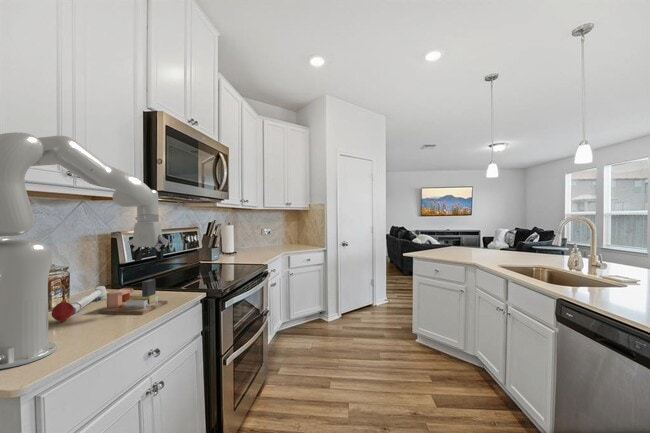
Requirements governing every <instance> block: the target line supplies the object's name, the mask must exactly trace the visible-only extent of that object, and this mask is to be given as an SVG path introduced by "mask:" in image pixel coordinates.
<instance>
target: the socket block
mask: <svg viewBox="0 0 650 433" xmlns="http://www.w3.org/2000/svg"><path fill="white" fill-rule="evenodd" d="M134 294H135V293H134V288H127V287H125V288H120V289H117V290H113V291H108V293H107V299H106V308H120V307H122V306H125V305H126V301H127V300H130V296H131V295H134Z"/></svg>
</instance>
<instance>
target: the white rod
mask: <svg viewBox="0 0 650 433" xmlns="http://www.w3.org/2000/svg"><path fill="white" fill-rule="evenodd" d="M106 289H107V288H106V286H105V285H100V286H97V287H96V288H95V289H94V291H92V292H90V293H88V294H86V295H85V296H83V297H81V298H79V299H77V300H75V301H72V302H70V304H71V305H72V306H73V307H74V312H73V314H72V315H71V316H74V315H76V313H79V312H80V311H82V310H83V309H84V307H86V306H87V305H89V304H90V303H91V302H93V301H95V302H100V301H101V302H102V301H104V300H107V293H109V291H108V290H106Z"/></svg>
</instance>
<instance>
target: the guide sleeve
mask: <svg viewBox="0 0 650 433" xmlns="http://www.w3.org/2000/svg"><path fill="white" fill-rule="evenodd" d="M158 300H159V296H158V295H155V302H152V303H150V304H148V300H137V299H130V300H127V301H126V308H134V309H145V308H147V307H149V306H152V305H154V304H156V303H158Z"/></svg>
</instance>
